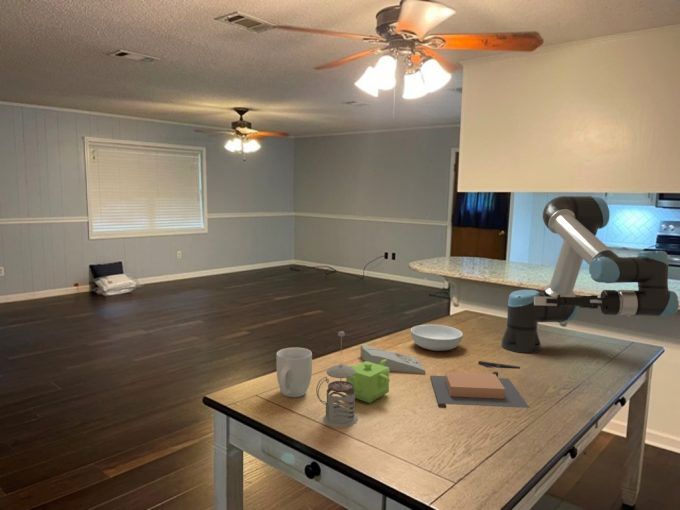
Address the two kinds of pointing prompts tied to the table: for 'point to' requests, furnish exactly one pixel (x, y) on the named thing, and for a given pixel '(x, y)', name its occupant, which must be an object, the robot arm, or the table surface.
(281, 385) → the mug
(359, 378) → the teapot
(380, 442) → the table surface
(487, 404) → the mat
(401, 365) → the ramp
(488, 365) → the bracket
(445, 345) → the serving bowl
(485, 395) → the tile
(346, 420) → the french press
